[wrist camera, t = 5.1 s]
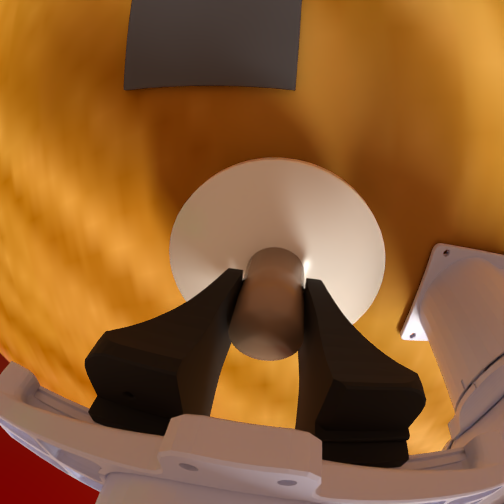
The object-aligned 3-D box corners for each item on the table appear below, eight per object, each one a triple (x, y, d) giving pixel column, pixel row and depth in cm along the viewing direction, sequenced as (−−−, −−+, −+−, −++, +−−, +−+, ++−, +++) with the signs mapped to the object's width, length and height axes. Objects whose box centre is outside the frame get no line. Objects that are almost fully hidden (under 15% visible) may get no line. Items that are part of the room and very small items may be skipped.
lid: (400, 170, 11) (449, 216, 7) (356, 342, 16) (365, 413, 12) (166, 155, 12) (105, 191, 8) (186, 326, 17) (159, 390, 13)
